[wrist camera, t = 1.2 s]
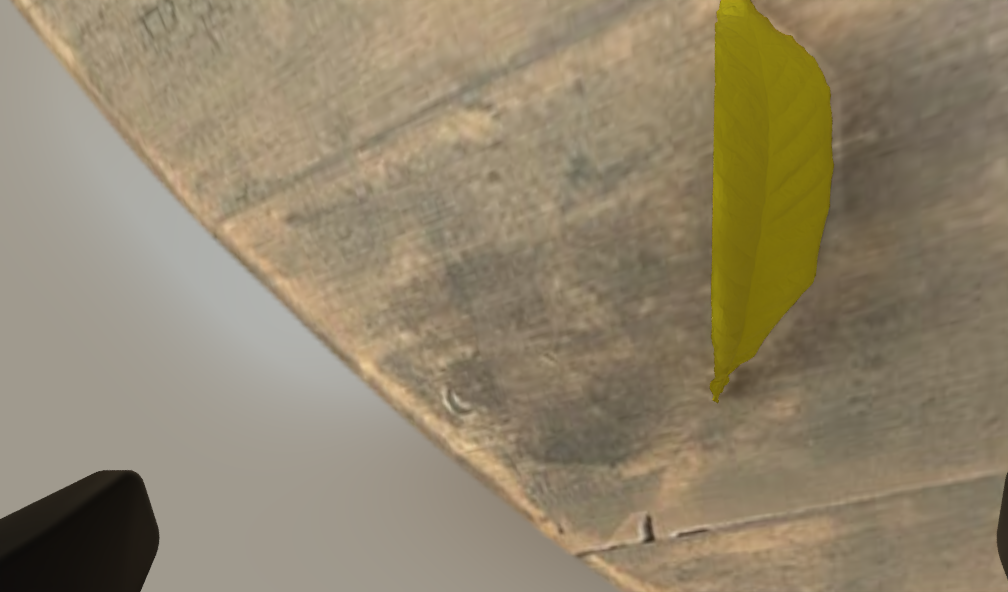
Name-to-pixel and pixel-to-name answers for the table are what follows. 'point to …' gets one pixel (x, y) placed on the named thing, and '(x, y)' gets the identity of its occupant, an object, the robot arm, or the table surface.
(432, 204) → the table surface
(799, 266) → the decorative leaf
